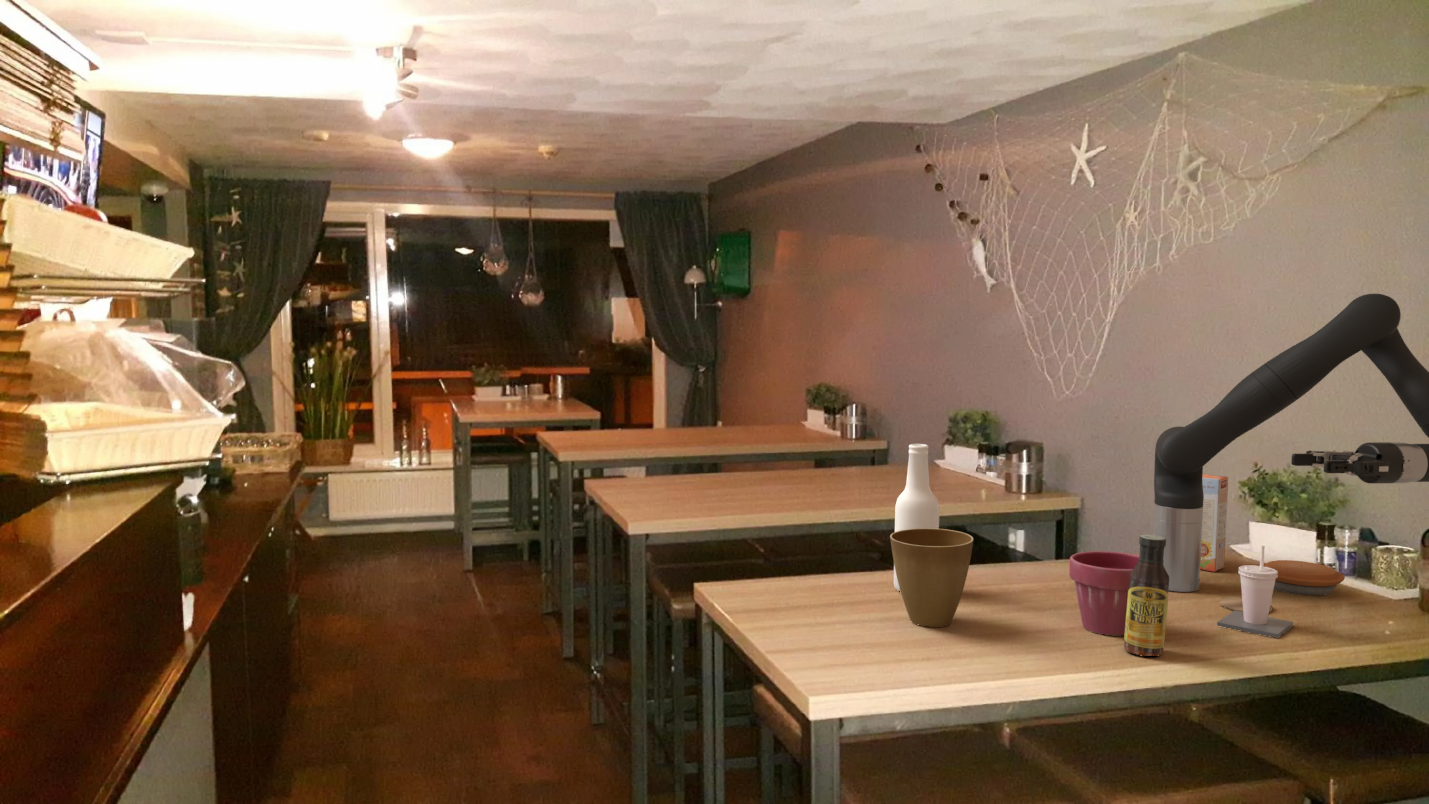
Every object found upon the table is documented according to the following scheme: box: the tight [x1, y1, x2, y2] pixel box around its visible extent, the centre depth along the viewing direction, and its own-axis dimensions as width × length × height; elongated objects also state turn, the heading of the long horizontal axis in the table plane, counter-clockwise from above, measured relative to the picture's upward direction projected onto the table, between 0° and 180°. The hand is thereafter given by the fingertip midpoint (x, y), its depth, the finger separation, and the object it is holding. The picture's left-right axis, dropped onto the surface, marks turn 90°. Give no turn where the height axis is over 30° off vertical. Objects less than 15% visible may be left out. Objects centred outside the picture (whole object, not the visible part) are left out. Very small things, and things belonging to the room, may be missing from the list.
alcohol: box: [893, 443, 940, 591], centre depth 208 cm, size 9×9×30 cm
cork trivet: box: [1219, 596, 1273, 614], centre depth 199 cm, size 9×9×1 cm
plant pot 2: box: [1068, 550, 1140, 636], centre depth 184 cm, size 14×14×13 cm
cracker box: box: [1200, 473, 1229, 573], centre depth 231 cm, size 14×6×21 cm, turn 44°
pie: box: [1263, 559, 1346, 596], centre depth 213 cm, size 15×16×5 cm
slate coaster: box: [1216, 611, 1294, 639], centre depth 187 cm, size 10×10×1 cm
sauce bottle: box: [1123, 534, 1169, 657], centre depth 171 cm, size 7×6×20 cm
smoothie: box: [1237, 545, 1278, 624], centre depth 186 cm, size 6×6×14 cm
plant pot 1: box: [889, 528, 974, 628], centre depth 188 cm, size 15×15×16 cm
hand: (1308, 463), depth 186 cm, fingers open, 8 cm apart
